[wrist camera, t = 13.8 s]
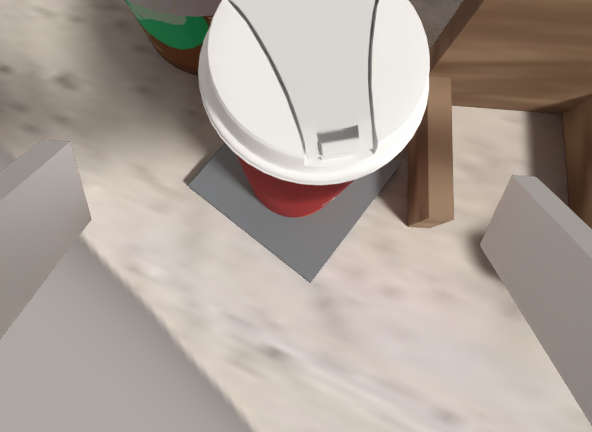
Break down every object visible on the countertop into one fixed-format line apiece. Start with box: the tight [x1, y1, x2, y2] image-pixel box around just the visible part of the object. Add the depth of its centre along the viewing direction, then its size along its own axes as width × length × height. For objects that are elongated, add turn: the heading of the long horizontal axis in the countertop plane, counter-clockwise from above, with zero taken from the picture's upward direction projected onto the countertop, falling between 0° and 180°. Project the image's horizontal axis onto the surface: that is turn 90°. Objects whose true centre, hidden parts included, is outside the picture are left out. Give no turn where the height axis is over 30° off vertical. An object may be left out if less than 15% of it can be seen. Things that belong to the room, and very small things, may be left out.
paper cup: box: [198, 0, 430, 218], centre depth 18 cm, size 8×8×14 cm
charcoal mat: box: [188, 143, 400, 283], centre depth 26 cm, size 10×10×1 cm
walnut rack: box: [408, 0, 592, 229], centre depth 21 cm, size 10×13×12 cm
